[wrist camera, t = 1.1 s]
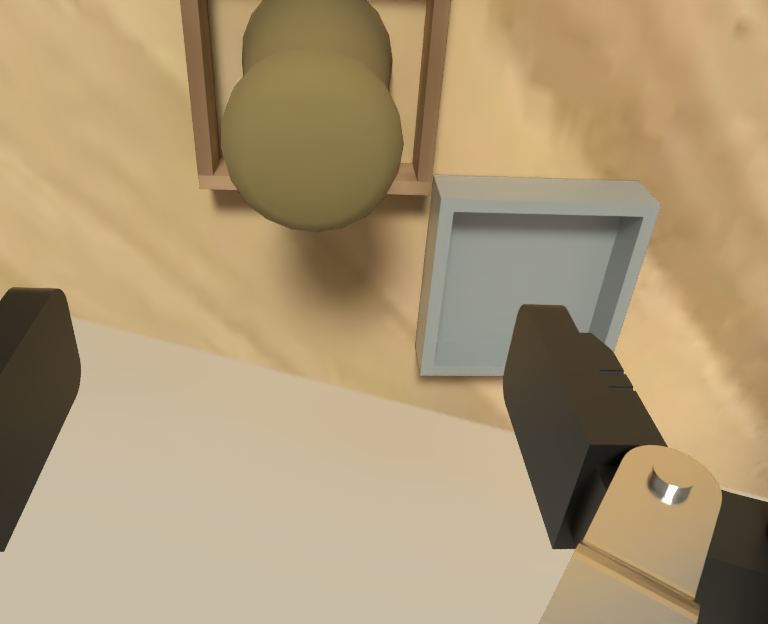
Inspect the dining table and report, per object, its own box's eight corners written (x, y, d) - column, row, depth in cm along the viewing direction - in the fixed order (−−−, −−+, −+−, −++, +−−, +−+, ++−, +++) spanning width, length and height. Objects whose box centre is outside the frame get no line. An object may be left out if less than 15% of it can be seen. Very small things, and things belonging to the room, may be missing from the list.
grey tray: (639, 181, 31) (661, 204, 29) (590, 346, 36) (606, 376, 34) (433, 174, 30) (441, 198, 28) (415, 345, 35) (420, 375, 33)
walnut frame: (449, -68, 25) (457, -63, 23) (424, 176, 30) (429, 195, 28) (182, -85, 24) (172, -81, 22) (206, 170, 29) (199, 188, 27)
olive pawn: (338, 160, 29) (341, 297, 20) (214, 79, 27) (155, 192, 18) (422, 42, 27) (469, 138, 18) (293, -59, 24) (272, -8, 15)
